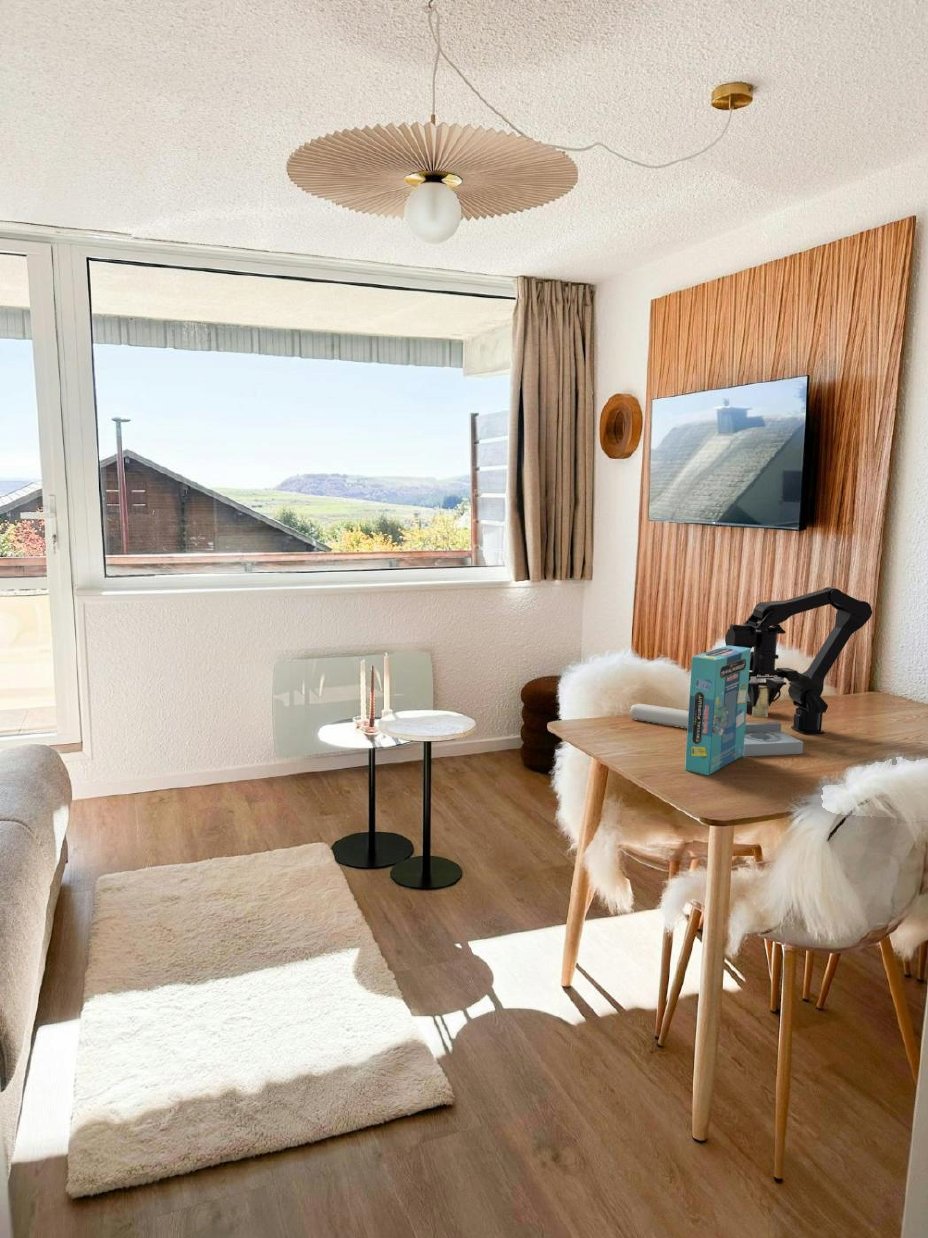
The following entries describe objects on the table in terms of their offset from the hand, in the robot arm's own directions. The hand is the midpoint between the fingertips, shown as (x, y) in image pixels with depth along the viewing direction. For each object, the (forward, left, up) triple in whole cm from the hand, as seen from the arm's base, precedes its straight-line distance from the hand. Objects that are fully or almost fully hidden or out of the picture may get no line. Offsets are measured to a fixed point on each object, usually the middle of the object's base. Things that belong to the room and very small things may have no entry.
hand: (760, 706), depth 235 cm
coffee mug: (-10, -19, -7) cm, 23 cm away
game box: (+26, +24, -7) cm, 36 cm away
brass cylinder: (0, 0, -3) cm, 3 cm away
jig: (+8, +14, -7) cm, 18 cm away
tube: (+21, -10, -8) cm, 24 cm away
